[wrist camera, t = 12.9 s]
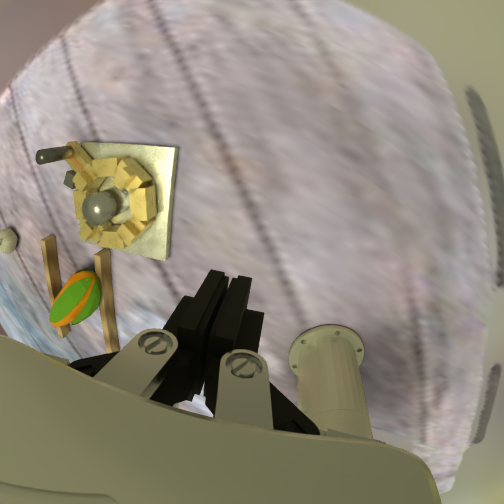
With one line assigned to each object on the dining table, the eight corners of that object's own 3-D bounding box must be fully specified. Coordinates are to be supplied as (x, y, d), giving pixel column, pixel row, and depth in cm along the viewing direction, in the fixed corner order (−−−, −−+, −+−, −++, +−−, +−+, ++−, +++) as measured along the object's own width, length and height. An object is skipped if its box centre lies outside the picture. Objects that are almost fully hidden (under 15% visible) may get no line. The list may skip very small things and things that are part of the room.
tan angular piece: (173, 200, 37) (145, 215, 29) (124, 256, 41) (95, 280, 34) (93, 114, 33) (57, 114, 26) (56, 176, 38) (21, 186, 30)
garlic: (15, 221, 44) (-3, 229, 39) (24, 244, 46) (7, 253, 41) (4, 230, 46) (-12, 238, 41) (13, 252, 47) (-3, 261, 43)
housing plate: (169, 257, 42) (146, 281, 35) (82, 237, 43) (52, 254, 36) (178, 147, 36) (152, 150, 29) (83, 141, 37) (48, 146, 29)
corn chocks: (119, 350, 51) (113, 359, 49) (66, 329, 52) (59, 336, 49) (109, 249, 43) (100, 256, 40) (51, 234, 44) (40, 240, 41)
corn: (94, 309, 37) (53, 350, 44) (121, 289, 45) (74, 331, 51) (65, 269, 36) (31, 319, 43) (95, 253, 43) (54, 303, 50)
